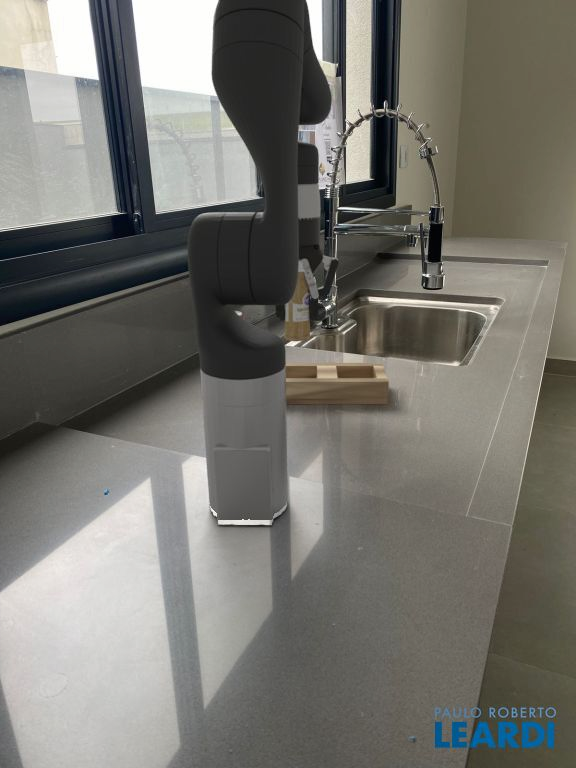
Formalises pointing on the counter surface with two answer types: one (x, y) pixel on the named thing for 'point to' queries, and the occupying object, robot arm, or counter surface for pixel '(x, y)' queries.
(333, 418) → the counter surface
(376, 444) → the counter surface
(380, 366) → the rack
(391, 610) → the counter surface
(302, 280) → the sprinkles bottle
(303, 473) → the counter surface
